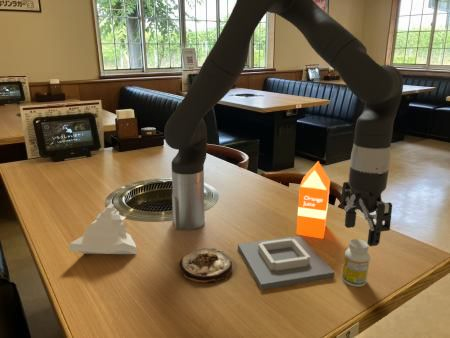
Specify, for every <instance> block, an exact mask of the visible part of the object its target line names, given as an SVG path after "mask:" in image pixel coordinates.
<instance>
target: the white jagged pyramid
mask: <svg viewBox="0 0 450 338" xmlns="http://www.w3.org/2000/svg"><path fill="white" fill-rule="evenodd" d="M126 217H127V216H124V215H121V214H120V210H118V209H116V206H115V204H114V203H112V202H110V203H108V205H107V206H106V207H105V208H104V210H102V211H101V212H99V214H98V215H97V216H96V219H95V220H94V221H92V222H91V223H90V224H89V225H88V226H87V227H86V228H85V229H84V233H83V235H82V236H80V237H79V238H77V239H75V240H73V241H70V243H69V246H68V247H69V248H68V251H71V252H74V253H75V252H76V253H78V254H85V255H89V254H91V255H137V250H138V248H137V245H136V243H135V241H134V240H133V238H132V235H131V234H129V233H128V232H127V228H128V227H127V226H128V225H127V224H124V222H125V219H126Z"/></svg>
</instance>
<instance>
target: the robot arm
mask: <svg viewBox="0 0 450 338" xmlns="http://www.w3.org/2000/svg"><path fill="white" fill-rule="evenodd" d="M267 13H270V14H275V15H278V16H279V17H281V18H282V19H284V20H286V21H287V22H289V23H290V24H291V25H293V27H295V28H296V29H297V30H298V31H299V32H300V33H301V34H302V35H303V37H304V38H305V40H306V41H307V43H308V44H309V45H310V47H311V48H312V49H313V50H314V52H315V53H316V54H317V55H318V56H319V57H320V58H321V59H322V60H323V61H324V62H326V64H328V66H329V67H331V68H332V69H333V70H334V71H335V72H336V73H338V74H339V76H340V78H341V79H342V81H343V82H344V84H345V86H347V88H348V89H349V91H351V93H352V94H353V95H355V97H356V98H357V99H359V101H361V102H363V103H364V104H363V105H364V106H363V111H362V113H361V114H360V116H358V118H357V120H356V122H355V123H356V124H355V128H354V136H353V137H354V139H353V143H352V144H353V145H352V149H351V154H350V163H349V172H348V173H349V174H348V180H347V181H345V182H343V183H342V189H341V198H340V206H341V207H344V212H345V219H344V226H345V227H346V228H347V229H350V228H354V227H355V226H356V220H357V212H356V211H357V210H358V211H360V212H361V213H363V216H364V219H365V220H366V221H367V223H368V226H369V228H368V234H367V241H366V243H367V244H368V247H375V246H378V245H379V244H380V241H381V235H382V234H381V233H383V232H389V231H391V222H392V221H391V220H392V212H393V204H392V202H385V201H383V200H382V193H383V192H384V191H385V190H386V189H387V183H388V177H389V170H390V162H391V146H392V145H391V144H392V139H393V130H394V123H395V122H394V121H395V119H396V116H397V112H398V111H399V107H400V103H401V101H402V100H401V99H402V95H403V91H404V90H403V89H404V79H403V75H402V73H401V71H400V70H399V69H398V68H397V67H395V66H393V65H389V64H384V65H383V64H382V65H380V64H379V63H378V62H376V60H374V59H373V58H372V57H371V56H370V55H369V54H368V52H367V48H366V46H365V45H364V44H363V42H362V41H361V40H359V39H358V38H357V37H356V36H355V35H354V34H353V33H351V31H349V30H348V29H347V28H346V27H344V26H343V25H342V24H341V23H339V22H338V21H337V20H336V19H334V18H333V17H332V16H330V15H329V14H328V13H327V12H326V11H325V10H323V9H322V8H321V7H320V6H319V5H318V4H317V3H316V2H315V1H314V0H236V2H235V4H234V5H233V7H232V11H231V13H230V15H229V17H228V18H227V21H226V22H225V24H224V27H223V28H222V29H221V31H220V33H219V36H218V37H217V39H216V41H215V43H214V45H213V46H212V47H211V49H210V51H209V53H208V54H207V55H206V58H205V59H204V62H203V63H202V64H201V66H200V69H199V71H198V73H197V75H196V76H195V78H194V79H193V82H192V83H191V85H190V87H188V91H187V92H186V94H185V96H184V98H183V99H182V100H181V102H180V103H179V105H178V106H177V107H176V109H175V110H174V111H173V113H172V114H171V115H170V117H169V118H168V119H167V122H166V123H165V126H164V130H163V136H164V137H163V138H164V141H165V143H166V144H167V146H168V147H170V148H172V149H174V150H176V151H177V150H178V151H177V153H176V155H175V156H174V157H173V159H172V161H171V179H172V180H171V181H172V182H171V183H172V186H171V187H172V192H171V199H172V201H171V203H172V205H171V207H172V221H173V225H174V228H175V229H176V230H183V231H184V230H187V231H190V230H197V229H200V228H201V227H203V226H204V225H205V223H206V221H205V218H206V217H205V216H206V215H205V177H204V176H205V174H204V173H205V170H204V169H205V168H204V167H205V162H206V159H207V149H208V144H207V143H208V132H207V131H208V129H207V126H206V122H205V119H204V117H205V116H206V115H207V114H208V112H209V111H211V109H213V108H214V107H215V106H216V105H217V104H218V103H219V102H220V101H221V100H222V99H223V98H224V97H225V96H226V95H227V94H228V93H229V92H230V90H231V89H232V88H233V87H234V86H235V85H236V83H237V81H238V79H239V78H240V76H241V75H242V73H243V71H244V70H245V67H246V66H247V65H246V64H247V60H248V56H249V49H250V44H251V39H252V37H253V35H254V33H255V30H257V28H258V26H259V24H260V22H261V21H262V20H263V18H264V16H265V15H266V14H267ZM347 198H348V199H347ZM374 212H375V214H373V213H374ZM374 220H375V222H376V223H375V222H374Z"/></svg>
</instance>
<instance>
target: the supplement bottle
mask: <svg viewBox="0 0 450 338" xmlns="http://www.w3.org/2000/svg"><path fill="white" fill-rule="evenodd" d="M368 251H369V245H368V244H367V241H365V240H362V239H359V238H356V239H355V238H353V239H351V240H349V243H348V248H347V249H346V250H345V252H344V259H343V267H342V275H341V277H342V281H344V283H345V284H347V285H348V286H352V287H355V288H360V287H364V286H365V285H366V284H367V280H368V274H369V267H370V262H371V261H370V260H371V254H370V253H369V252H368Z"/></svg>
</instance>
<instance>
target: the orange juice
mask: <svg viewBox="0 0 450 338" xmlns="http://www.w3.org/2000/svg"><path fill="white" fill-rule="evenodd" d="M330 186H331V179H330V178H329V176H328V175H327V173H326V171H325V169H324V168H323V167H322V165H321V164H320V161H316V163H315V164H314V165H313V166H312V167H311V168H310V169H309V171H307V173H306V174H305V175H304V176H303V178H302V180H301V182H300V185H299V193H298V205H297V222H296V233H295V234H296V236H304V237H311V238H316V239H324V236H325V231H326V226H327V218H328V217H327V215H328V208H329V195H330Z"/></svg>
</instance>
